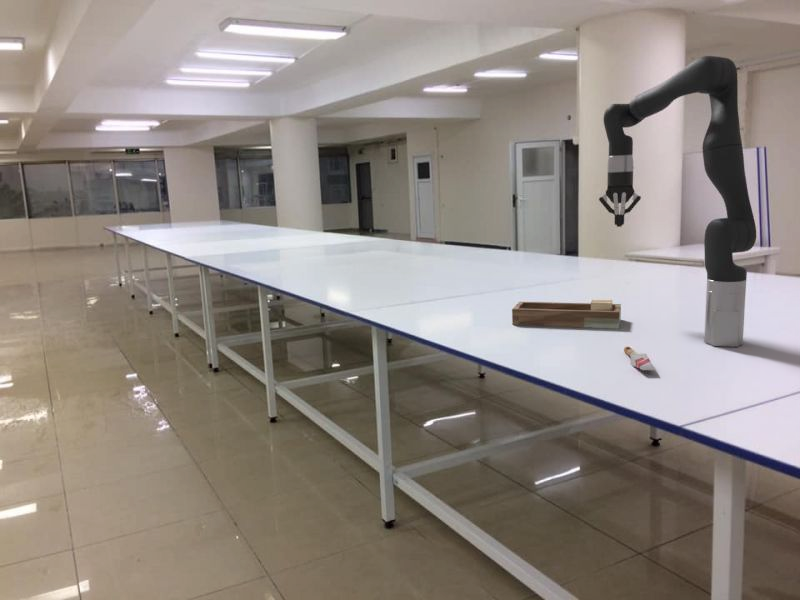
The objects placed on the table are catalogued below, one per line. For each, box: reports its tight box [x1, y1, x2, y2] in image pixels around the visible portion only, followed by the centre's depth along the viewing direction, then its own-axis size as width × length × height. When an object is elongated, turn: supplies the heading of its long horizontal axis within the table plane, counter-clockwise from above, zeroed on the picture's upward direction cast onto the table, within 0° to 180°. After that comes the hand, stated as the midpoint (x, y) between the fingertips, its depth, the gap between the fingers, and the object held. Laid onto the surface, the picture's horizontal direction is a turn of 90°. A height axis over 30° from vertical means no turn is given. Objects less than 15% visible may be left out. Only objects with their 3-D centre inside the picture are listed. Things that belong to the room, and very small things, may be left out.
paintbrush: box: [623, 345, 656, 371], centre depth 155 cm, size 4×3×20 cm
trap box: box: [511, 301, 622, 330], centre depth 200 cm, size 12×32×5 cm, turn 69°
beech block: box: [590, 298, 613, 311], centre depth 196 cm, size 5×6×4 cm
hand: (619, 226), depth 199 cm, fingers closed
